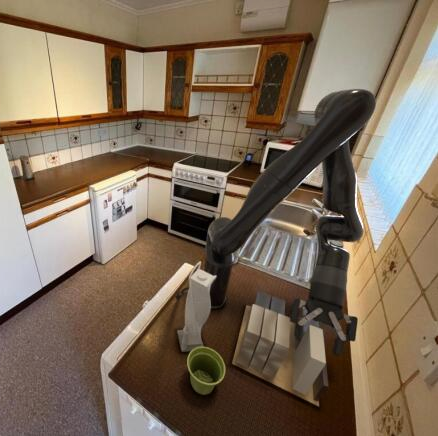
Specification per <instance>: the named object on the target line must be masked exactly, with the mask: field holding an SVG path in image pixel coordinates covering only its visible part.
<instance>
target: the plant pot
mask: <svg viewBox="0 0 438 436" xmlns="http://www.w3.org/2000/svg"><path fill="white" fill-rule="evenodd" d="M186 364H187V366H186V367H187V369H188V372H189V375H190V377H189V378H190V384H191V386H192V388H193V390H194V391H195V392H196V393H197V394H200V395H202V396H204V395H205V396H206V395H209V394H211V393H212V392H213V390H214V389H215V387H216V385H218V384H219V383H221V382H222V381H223V380H224V377H225V376H226V364H225V362H224V359H223V358H222V356H221V355H220V354H219V353H218V352H217V350H215V349H212V348H211V347H208V346H204V347H197V348H195V349H193V350H192V351H189V354H188V355H187V359H186Z"/></svg>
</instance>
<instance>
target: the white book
mask: <svg viewBox="0 0 438 436" xmlns="http://www.w3.org/2000/svg"><path fill="white" fill-rule="evenodd" d="M325 356H326V349H325V338H324V330H323V329H322V328H320V327H319V328H317V327H314V326H312V325H309V326H308V328H307V330H306V332H305V334H304V336H303V338H302V340H301V342H300V344H299V346H298V348H297V349H296V351H295V353H294V355H293V383H292V389H294V390H296V391H298V392H300V393H302V394H304V395H306V393H307V392H308V390H309V389H310V387H311V386H312V384H313V383H314V381H315V380H316V378H317V377H318V375H319V373H320V372H321V370H322V369H323V367H324V366H325V364H326V365H327V359H326V358H325Z"/></svg>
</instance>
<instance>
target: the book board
mask: <svg viewBox="0 0 438 436" xmlns="http://www.w3.org/2000/svg"><path fill="white" fill-rule="evenodd" d="M307 312H308V311H307V309H306V307H305V306H302V307H301V310H300V313H299V314H298V316H297V318H298V319H300V318H301V317H302V316H303V315H305V314H306V313H307ZM285 313H286V300H285V299H282V298H280V297H276V296H273V295H271V294H268V293H265V292H262V291H259V290H257V292H256V295H255V297H254V301H253V304H252V305H251V306H250V305H248V304H246V306H245V309H244V314H243V318H242V322H241V326H240V330H239V334H238V339H237V343H236V346H235V351H234V354H233V359H232V363H231V364H232V365H234V366H236V367H238V368H239V369H242V370H244V371H246V372H248V373H249V374H251V375H254V376H256V377H258V378H260V379H262V380H264V381H266V382H268V383H271V384H272V385H275V386H277V387H279V388H281V389H282V390H284V391H287V392H289V393H291V394H292V395H294V396H296V397H299V398H300V399H303V400H305V401H307V402H309V403H311V404H313V405H315V406H317V407H320V400H321V398H322V397H323V396H324V394H325V393H326V392H327V390H328V389H329V378H328V377H329V376H328V367H327V363H326V364H325V366H324V367H323V369H322V370H321V372H320V373H319V375H318V377H317V378H316V380H315V381H314V383H313V384H312V386H311V387H310V389H309V390H308V392H307V393H306V395H304V394H302V393H300V392H298V391H296V390H294V389H292V383H293V355H294V353H295V351H296V349H297V348H298V346H299V344H300V342H301V341H298V340H296V337H295V336H294V332H295V327H296V323H295V322H294V321H291V319H290V318H289V316H286V314H285ZM309 325H312V326H314V327H317V328H320V322H317V321H314V320H313V319H311V320H310V321H308V322H307V323H305V324H304V325H303V327H304V328H303V333H302V338H303V336H304V334H305V332H306V330H307V328H308V326H309ZM302 338H301V340H302ZM325 358H326V355H325Z"/></svg>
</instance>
